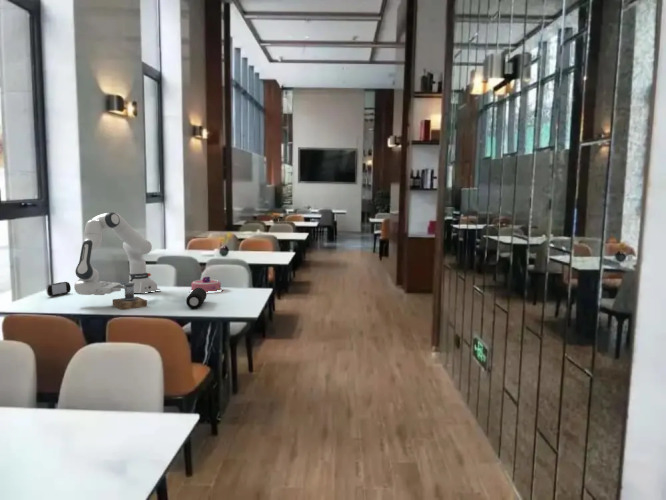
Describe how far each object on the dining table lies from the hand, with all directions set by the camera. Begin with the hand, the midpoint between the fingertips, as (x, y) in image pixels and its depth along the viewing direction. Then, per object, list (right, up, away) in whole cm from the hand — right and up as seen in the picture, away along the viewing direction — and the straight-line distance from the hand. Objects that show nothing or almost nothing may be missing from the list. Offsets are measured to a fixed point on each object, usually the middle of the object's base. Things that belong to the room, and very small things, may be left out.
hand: (123, 288), depth 356 cm
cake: (+40, -6, +58) cm, 71 cm away
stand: (+4, -11, +1) cm, 12 cm away
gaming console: (-58, -8, +35) cm, 68 cm away
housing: (+4, -7, +1) cm, 8 cm away
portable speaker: (+46, -12, +5) cm, 48 cm away
